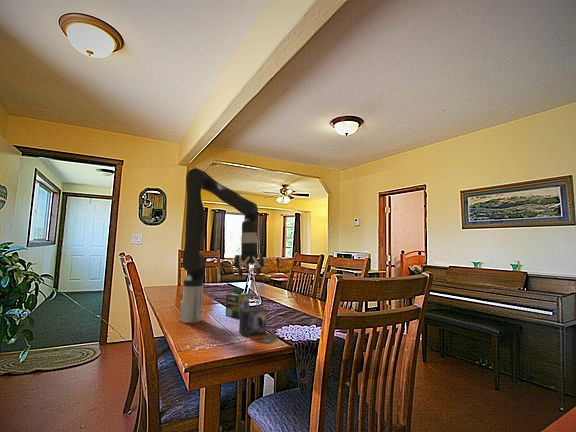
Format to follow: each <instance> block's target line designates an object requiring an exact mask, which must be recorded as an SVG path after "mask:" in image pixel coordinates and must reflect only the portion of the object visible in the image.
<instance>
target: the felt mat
mask: <svg viewBox="0 0 576 432" xmlns="http://www.w3.org/2000/svg"><path fill="white" fill-rule="evenodd" d="M279 336H280V334H278V333H272V332H270V333H269V334H267V335H266V336H265V337H263V338H262V339H261V340H259V343H262V344H263V343H264V344H270V343H272V342H273V341H274V340H275V339H277V338H278V337H279Z"/></svg>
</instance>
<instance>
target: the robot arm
mask: <svg viewBox="0 0 576 432" xmlns="http://www.w3.org/2000/svg"><path fill="white" fill-rule="evenodd" d="M185 185H186V210H185V229H184V230H185V231H184V249H183V254H182V261H181V262H182V263H181V264H182V268H183V269H184V270H185V271H186V275H185V278H184V280H183V288H182V289H183V290H182V300H181V301H180V313H179V321H180V322H182V323H185V324H195V323H200V322H201V321H202V315H203V314H202V311H203V309H202V308H203V289H204V287H203V286H204V280H205V277H206V276H205V275H206V257H205V255H204V254H202V253H201V252H200V249H201V248H200V247H201V246H200V245H201V240H202V238H203V233H204V229H205V226H206V224H205V223H206V210H205V207H204V205H203V200H202V195H201V194H202V190H204V191H207V192H209V193H211V194H213V195H215V196H216V198H218V199H219V200H221V201H222V202H223V203H225V204H227V205H229V206H230V207H232V208H234V209H235V210H237V211H238V212H239V213H240V214H242V215H244V217H243V218H244V219H243V221H242V223H241V238H240V244H241V249H240V250H241V252H240V253H241V254H235V255H234V263H233V264H234V265H233V266H234V268H236V269H238V272H237V273H238V274H237V275H238V277H239V278H243V271H244V270H243V268H244V266H245V265H249V264H251V265H252V264H253V265H254V266H255V276H256V277H259V276H260V275H261V268H262V267H264V266H265V264H264V263H265V262H264V254H263V253H260V254H258V234H257V221H258V216H259V209H258V205H257V203H255V202H254V201H251V200H249V199H248V198H245V197H243V196H242V195H240V193H237V192H236V191H234V190H233V189H232V188H231V189H230V188H229V187H227V186H224V185H223V184H221V183H219V182H218V181H216V180H215V179H214V178H213V177H211V175H209V174H208V173H207V172H206V171H204V170H202V169H200V168H197V167H191V168H190V169H189V170H188V171H187V173H186V176H185ZM257 259H258V260H257ZM240 260H241V261H240ZM258 261H259V262H258Z"/></svg>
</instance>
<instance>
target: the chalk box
mask: <svg viewBox="0 0 576 432" xmlns="http://www.w3.org/2000/svg"><path fill="white" fill-rule="evenodd" d="M241 308H250V293H249V292H242V290H241V288H240V287H233V292H230V293H227V294H226V296H225V316H227V317H231V318H234V319H235V318H236V319H240V309H241Z"/></svg>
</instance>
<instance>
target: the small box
mask: <svg viewBox="0 0 576 432" xmlns="http://www.w3.org/2000/svg"><path fill="white" fill-rule="evenodd" d="M267 310H268V309H266V308H264V307H262V306H258V307H256V306H255V307H249V308H241V309H240V318H239V328H238V329H239V330H238V333H239V334H240V335H241V337H242V336H243V337H250V336H258V335H266V333H267V318H268V317H267V315H268V314H267V312H268V311H267Z"/></svg>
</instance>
